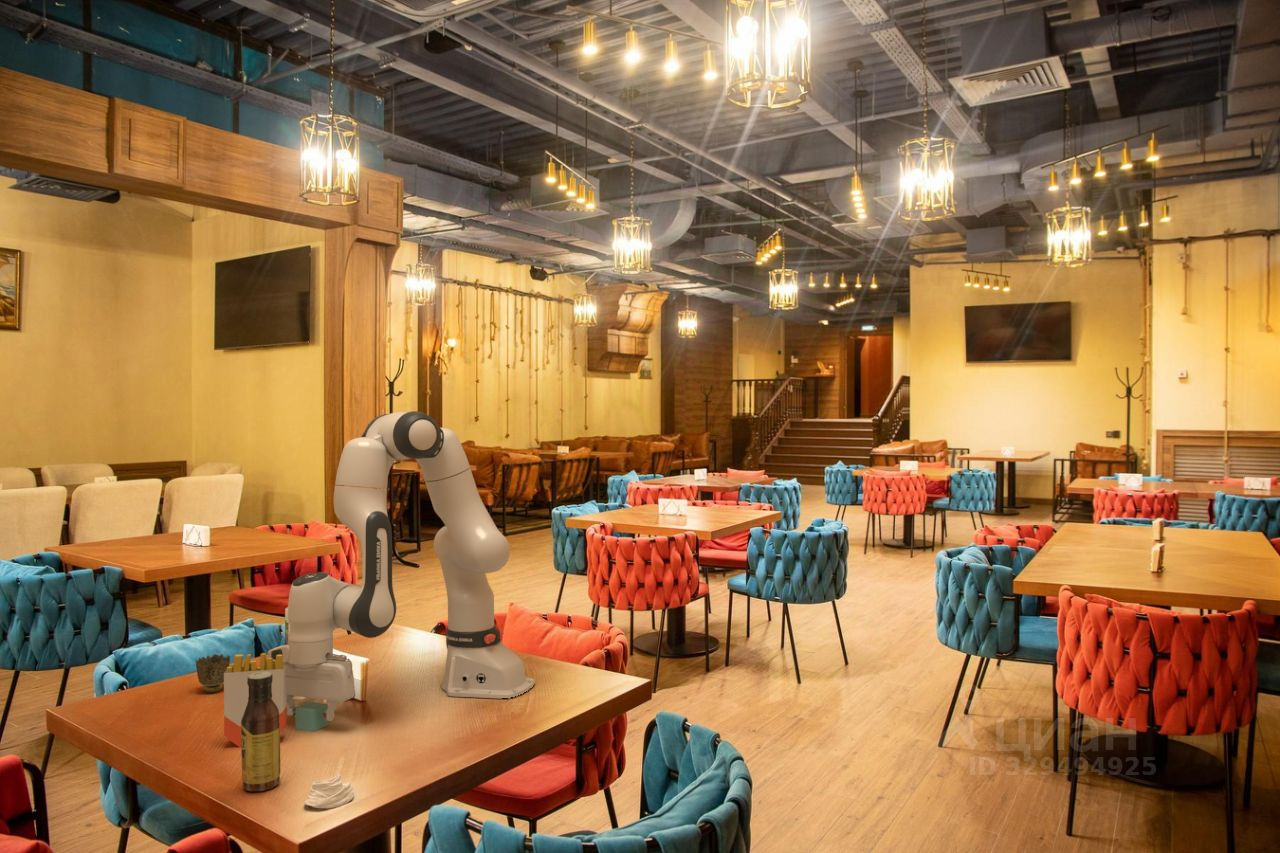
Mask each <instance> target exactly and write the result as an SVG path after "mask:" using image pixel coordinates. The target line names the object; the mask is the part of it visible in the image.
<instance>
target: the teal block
mask: <svg viewBox="0 0 1280 853" xmlns="http://www.w3.org/2000/svg"><path fill="white" fill-rule="evenodd" d="M328 707H329V705H327V703H324V702H323V703H316V702H309V703H307V704H304V705H302V706H300V707H298V708H296V716H295V731H303V732H309V733H310V732H311V733H315V732H316V731H319V730H320V729H323V728H324V727H327V726H329V721H325V720H323V712H325V711H327V709H328Z"/></svg>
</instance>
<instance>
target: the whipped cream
mask: <svg viewBox="0 0 1280 853" xmlns="http://www.w3.org/2000/svg"><path fill="white" fill-rule="evenodd" d="M308 792H309V793H308V795H307V799H306V800H304V801H303V804H304V805H305V806H309V807H311V808H316V809H328V810H329V809H336V808H338V807H341V806H344V805H346V804H348V803H349V802H351V801H352V800H353V798H354V787H353V784H351V782H346V783H344V782H343V777H342V776H341V774H339V773H336V775H334V776H333V777H331V778H326V779H322V780H318V781H313V782H312V785H311V787H310V788H309V791H308Z"/></svg>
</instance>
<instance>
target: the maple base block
mask: <svg viewBox="0 0 1280 853" xmlns="http://www.w3.org/2000/svg"><path fill="white" fill-rule="evenodd" d="M293 700H294V702H295V705H297V706H298V707H300V706H302V705H304V704H307V703H309V702H316V703H323V704H324V702H323V701H324V700H322V699H315V698H307V697H300V696H294V697H293ZM287 716H289V715H287ZM289 717H290V716H289ZM294 717H296V715H295V716H294Z"/></svg>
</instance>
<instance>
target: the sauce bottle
mask: <svg viewBox="0 0 1280 853" xmlns="http://www.w3.org/2000/svg"><path fill="white" fill-rule="evenodd" d="M272 678H273V676H272V673H271V672H265V671H264V672H256V673H253V674H250V675H249V676H248V680H247V684H248V686H249V697H248V703H247V706H246V709H245V712H244V715H243V717H242V720H241V747H240V749H241V752H240V753H241V781H242V786H243V789H244V790H245V791H246V792H264V791H269V790H271V789H273V788H275V787H276V786H278V785H279V784H280V780H281V778H280V776H281V775H280V774H281V734H280V723H279V710H278V708H277V706H276V704H275V703H274V702H273V700H272V699H271V698H272V680H273V679H272Z"/></svg>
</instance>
